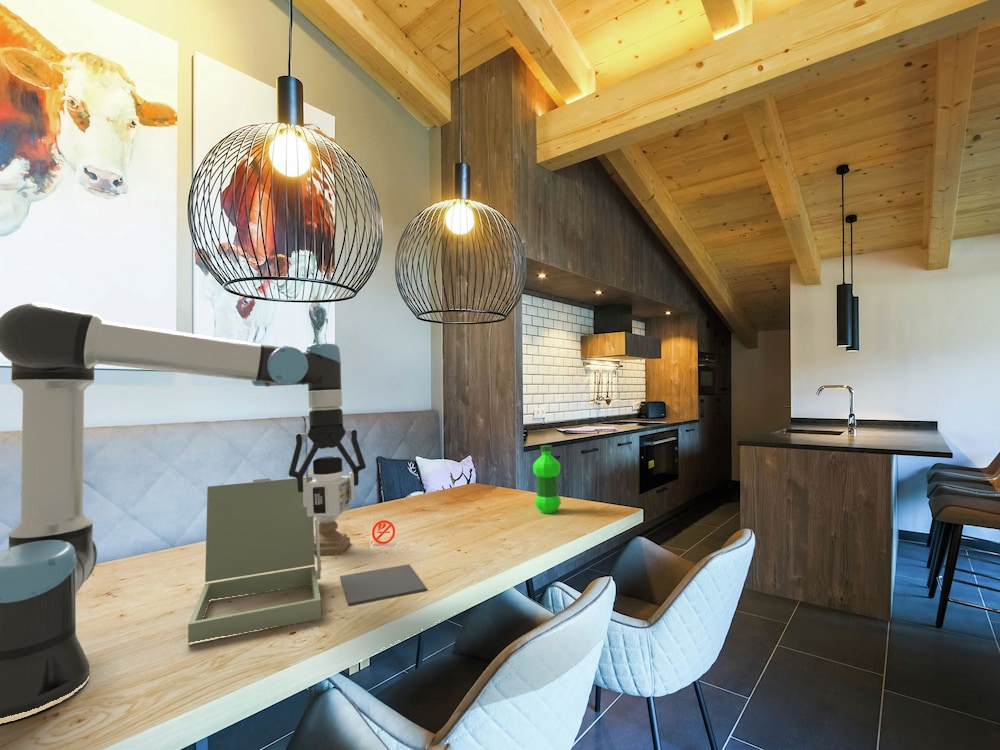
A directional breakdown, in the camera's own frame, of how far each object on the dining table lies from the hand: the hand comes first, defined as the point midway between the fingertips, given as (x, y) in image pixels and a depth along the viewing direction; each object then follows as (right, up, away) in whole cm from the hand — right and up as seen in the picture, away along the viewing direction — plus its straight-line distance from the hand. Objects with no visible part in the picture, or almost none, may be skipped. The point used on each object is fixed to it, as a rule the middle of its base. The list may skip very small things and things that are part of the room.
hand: (329, 502), depth 117 cm
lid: (-19, -7, +5) cm, 21 cm away
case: (-13, -22, -6) cm, 26 cm away
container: (0, -2, 0) cm, 2 cm away
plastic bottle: (+59, -22, +71) cm, 95 cm away
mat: (+11, -21, +5) cm, 25 cm away
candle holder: (-12, -23, +33) cm, 42 cm away
